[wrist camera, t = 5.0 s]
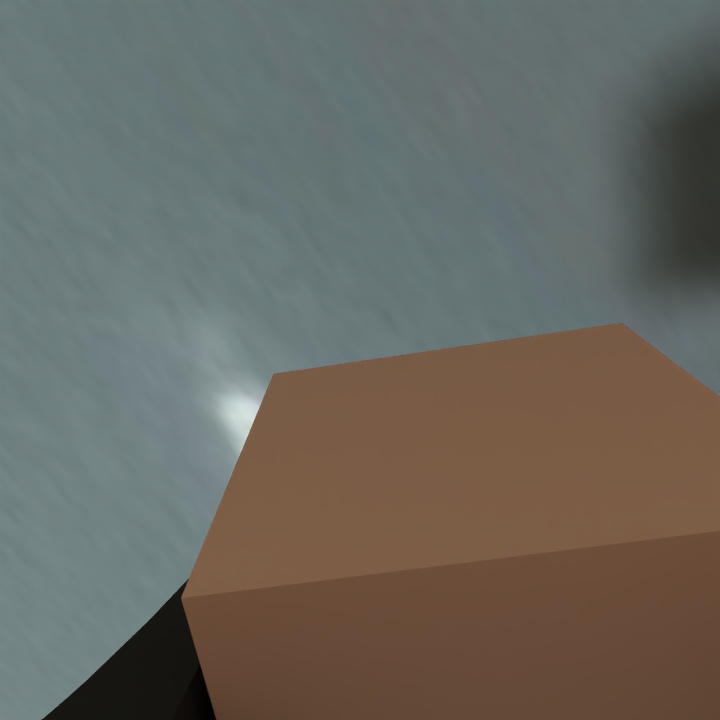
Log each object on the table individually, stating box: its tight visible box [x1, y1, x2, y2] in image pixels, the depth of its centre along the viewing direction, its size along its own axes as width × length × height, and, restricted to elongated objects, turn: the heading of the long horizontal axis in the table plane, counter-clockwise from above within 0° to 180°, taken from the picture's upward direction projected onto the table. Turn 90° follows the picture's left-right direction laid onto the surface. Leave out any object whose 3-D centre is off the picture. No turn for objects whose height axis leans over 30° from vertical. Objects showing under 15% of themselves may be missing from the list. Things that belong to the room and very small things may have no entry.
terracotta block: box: [181, 323, 720, 720], centre depth 8 cm, size 5×5×5 cm
